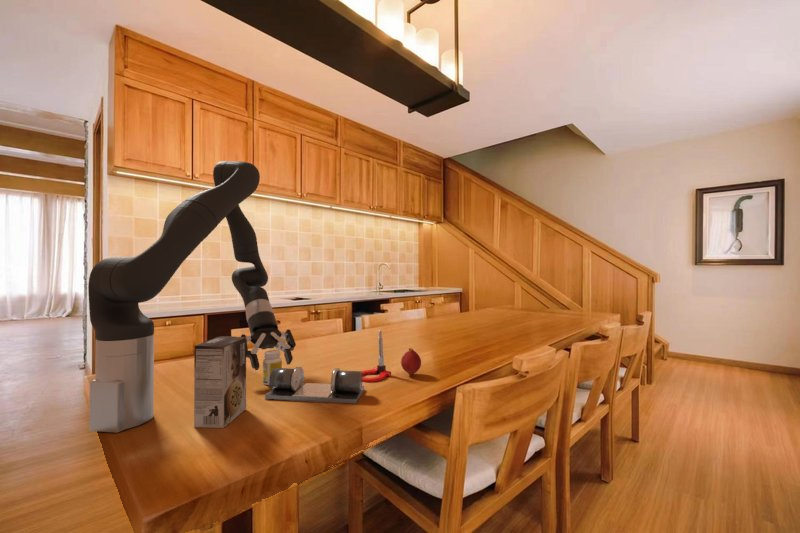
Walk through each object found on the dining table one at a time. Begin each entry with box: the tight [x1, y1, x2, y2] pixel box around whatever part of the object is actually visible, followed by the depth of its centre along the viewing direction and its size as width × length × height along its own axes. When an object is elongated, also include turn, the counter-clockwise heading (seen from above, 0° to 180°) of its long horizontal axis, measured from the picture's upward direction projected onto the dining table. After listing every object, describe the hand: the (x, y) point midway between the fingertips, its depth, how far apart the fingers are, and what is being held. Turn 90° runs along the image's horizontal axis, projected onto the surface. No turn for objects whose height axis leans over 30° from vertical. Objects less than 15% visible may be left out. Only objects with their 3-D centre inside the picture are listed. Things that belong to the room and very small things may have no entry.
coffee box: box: [193, 335, 247, 429], centre depth 71 cm, size 9×6×16 cm
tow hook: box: [362, 330, 392, 383], centre depth 98 cm, size 8×13×9 cm
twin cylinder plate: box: [264, 366, 365, 405], centre depth 84 cm, size 22×9×6 cm, turn 84°
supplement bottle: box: [262, 349, 283, 386], centre depth 93 cm, size 5×5×8 cm
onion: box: [400, 347, 422, 376], centre depth 99 cm, size 6×6×8 cm
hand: (274, 365), depth 92 cm, fingers open, 8 cm apart
